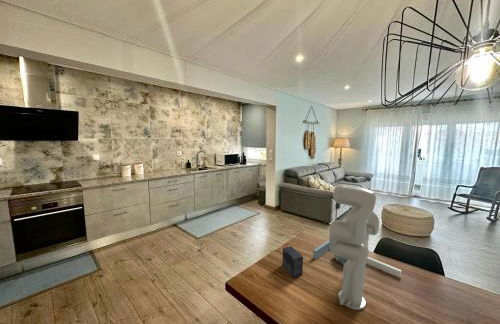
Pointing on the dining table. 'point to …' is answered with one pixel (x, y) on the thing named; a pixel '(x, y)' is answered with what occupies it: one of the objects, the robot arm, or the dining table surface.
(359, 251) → the robot arm
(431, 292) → the dining table surface
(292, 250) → the small box
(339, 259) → the grey rock
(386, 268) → the fence
